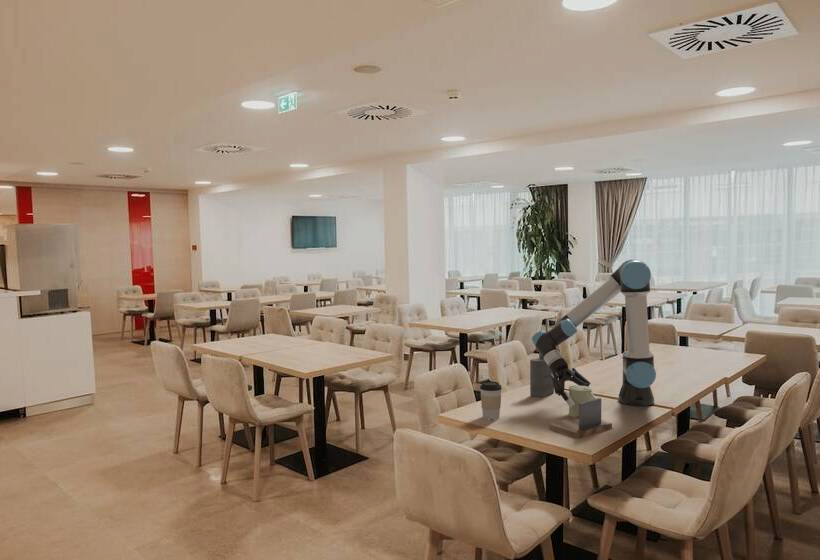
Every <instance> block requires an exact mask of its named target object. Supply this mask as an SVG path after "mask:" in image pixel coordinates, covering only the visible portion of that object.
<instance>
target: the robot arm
mask: <svg viewBox="0 0 820 560" xmlns="http://www.w3.org/2000/svg"><path fill="white" fill-rule="evenodd" d="M651 277H652V273H651V270H650V267H649V266H648V265H647V264H646V262H644V261H641V260H638V259H629V260H625V261H624V262H622V263H621V265H619V266H618V268H617V269H616V270H615V271H613V273H611V274H610V275H609V278H608V279H607V281H605V282H604V283H603V284H601V286H599V287H598V288H597V289H596V290H594V291H593V292H591V294H589V295H588V296H586V298H584V299H583V300H582V301H581V302H580V303H577V305H576V306H574V308H572V309H571V310H570V311H568V312H567V313H566V314H565V315H564V316H562V317H561V318H559V319H558V320H557V321H555V323H554V327H552V328H551V329H550V330H548V331H546V330H539V331H537V332H536V333H534V335H532V337H531V342H532V343H533V345H534V346H535V349H537V351H538V352H539V354H541V356H542V357H543V359H544V360H545V362H546V363H547V365H548V366H549V368H550V369H551V371H552V374H551V375H550V376H551V378H552V381H553V385H554V393H555V394H556V395H558V396H559V397H560V396H561V397H562V399H563V400H564V401H565V402H566V404H567V405H568V407H570V408H572V407H573V406H574V405H575V403H574V402H573V400H572V399H571V397H570V396H569V392H568V391H567V390H565V386H566V385H565V382H573V384H576V386H587V387H590V385H591V382H590V381H589V380H588V379H587V378H586V377H584V375H582V374H581V373H579V371H577V370H576V368H575V367H572V368H571V369H570V368H569V364H568V362H567V361H566V359H565V358H564V356H563V355H562V354H561V352H560V350H559V349H558V348H557V347H558V346H559V345H561V344H562V343H564V342H565V341H566V340H568V339H569V338H571V337H573V336H574V335H575V334H577V333H578V327H579V326H580V325H581V324H582V323H584V322H585V321H586V320H588V319H589V318H590V317H592V316H593V315H594V314H595V313H597V312H598V311H599V310H600V309H601V308H603V307H604V306H605V305H606V304H608V303H609V302H610V301H611V300H612V299H614V298H615V297H617V296H618V295H619V294H620V293H621V294H622V295H623V296H624V301H625V320H626V338H627V350H626V351H623V353H622V357H621V358H622V384H621V387H620V390H619V392H618V393H619V394H618V402H620V404H621V403H622V404H625V405H629V406H635V407H637V406H638V407H643V406H651V405H654V404H655V397H654V394H653V391H652V387H651V386H652V385H653V384H654V382H655V381H656V378H657V371H656V369H655V359H654V357H655V356H654V354H653V353H652V351H650V338H649V337H650V335H649V319H648V315H649V314H648V299H647V298H648V297H647V296H648V294H650V293H651V284H650V283H651ZM594 399H597V397H596V396H595V395H594V393H593V390H591V400H594ZM653 403H654V404H653Z"/></svg>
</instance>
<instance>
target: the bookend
mask: <svg viewBox="0 0 820 560" xmlns="http://www.w3.org/2000/svg"><path fill="white" fill-rule="evenodd" d="M601 420H602V398H601V397H598V398H596V399H594V400H590V401H586V402H582V403H579V429H580V430H583V431H588V430H591V429H594V428H598V427H601V426H604V425H606V424H604V423H601Z"/></svg>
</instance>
